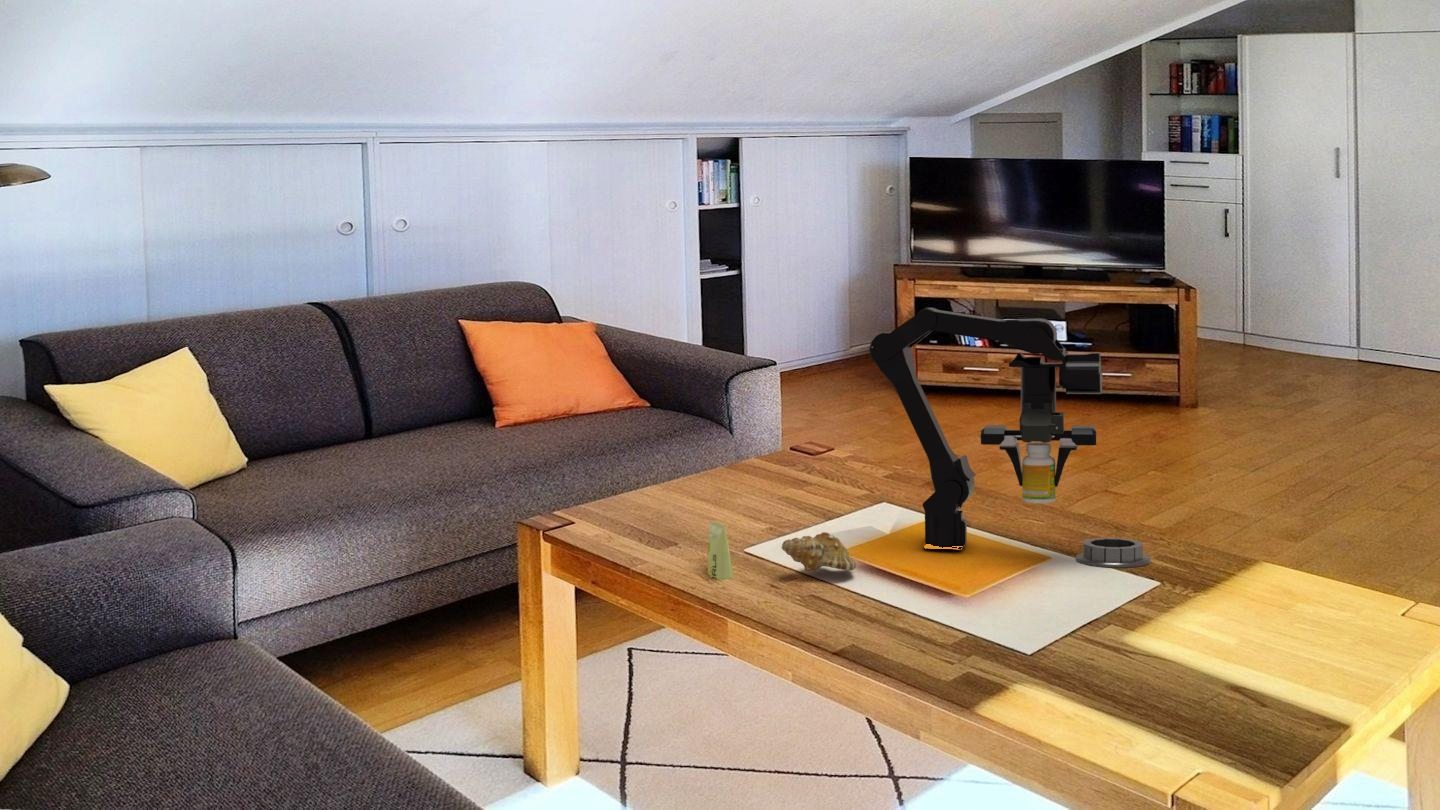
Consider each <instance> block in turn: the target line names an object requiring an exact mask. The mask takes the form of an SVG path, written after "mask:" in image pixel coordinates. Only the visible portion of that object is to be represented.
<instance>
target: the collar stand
mask: <svg viewBox="0 0 1440 810" xmlns="http://www.w3.org/2000/svg"><path fill="white" fill-rule="evenodd" d="M1143 548H1144V546H1143V542H1142V541H1140V540H1139V541H1138V540H1136V539H1131V538H1123V537H1121V538H1120V537H1097V538H1096V537H1095V538H1089V539H1085V540H1084V541H1083V552H1079V553H1077V554H1076V555H1075V561H1076V563H1077V562H1078V563H1079V564H1082V565H1084V566H1085V565H1086V566H1091V567H1098V568H1109V569H1110V568H1112V569H1124V568H1125V569H1126V568H1127V569H1128V568H1137V567H1143V566H1147V565H1150V564H1151V560H1152V559H1151V557H1150V556H1148V555H1147V554H1144V553H1143V552H1144V551H1143V550H1144V549H1143Z"/></svg>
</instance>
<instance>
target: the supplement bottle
mask: <svg viewBox="0 0 1440 810" xmlns="http://www.w3.org/2000/svg"><path fill="white" fill-rule="evenodd" d="M1025 445H1026V448H1025V449H1026V453H1027V456H1024V457H1023V458H1022V460H1021V465H1022V486H1021V487H1022V489H1021V490H1022V494H1021V495H1022V501H1023V502H1026V503H1030V504H1050V503H1053V502H1055V501H1056V487H1055V474H1056V459H1055V458H1054V457H1053V456H1052V455H1050V453H1051V452H1052V450H1051V449H1052V447H1051V446H1052V445H1051V443H1050V442H1047V443H1043V442H1030V443H1028V442H1027V443H1026V444H1025Z"/></svg>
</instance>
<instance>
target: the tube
mask: <svg viewBox="0 0 1440 810" xmlns="http://www.w3.org/2000/svg"><path fill="white" fill-rule="evenodd" d="M707 542H708V544H707V548H708V549H707V551H708V552H707V574H708V575H710V576H709V577H710V578H712V579H714V578H715V579H714V580H719V581H721V580H723V581H724V580H729V579H731V578H733V577H734V573H733V565H732V558H731V553H730V546H729V541H728V536H727V532H726V529H725V524H723V523H719V522H716V521H714V520H712V519H711V520H709V529H708V541H707Z"/></svg>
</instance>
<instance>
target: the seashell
mask: <svg viewBox="0 0 1440 810" xmlns="http://www.w3.org/2000/svg"><path fill="white" fill-rule="evenodd" d="M780 548H781V550H782V551H784V552H785V554H787V555H788V556H790V557H791V558H792V560H793V561H794V562H797V563H800V564H801V565H803V567H804V571H805V572H809V571H816V570H818V569H821V568H822V567H825V568H826V567H828V568H831V569H832V568H833V569H837V570H841V571H842V570H843V571H854V570H855V569H856V568H857V566H856V565H857V563H856V561H855V560H854V559H853V558H852V557H850V553H849V551H848V549H847V548H846V547H845V545H844V544H843V542H842V541H841V540H840V539H839V538H838V537H837V536H834V535H833V534H830V533H829V532H826V531H822V532H821V533H819V534H816V535H815V536H814V537H812V536H810V535H803V536H802V537H801V538H799V537H793V538H792V539H785V540H784V541H783V542H782V544H781V547H780Z"/></svg>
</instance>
